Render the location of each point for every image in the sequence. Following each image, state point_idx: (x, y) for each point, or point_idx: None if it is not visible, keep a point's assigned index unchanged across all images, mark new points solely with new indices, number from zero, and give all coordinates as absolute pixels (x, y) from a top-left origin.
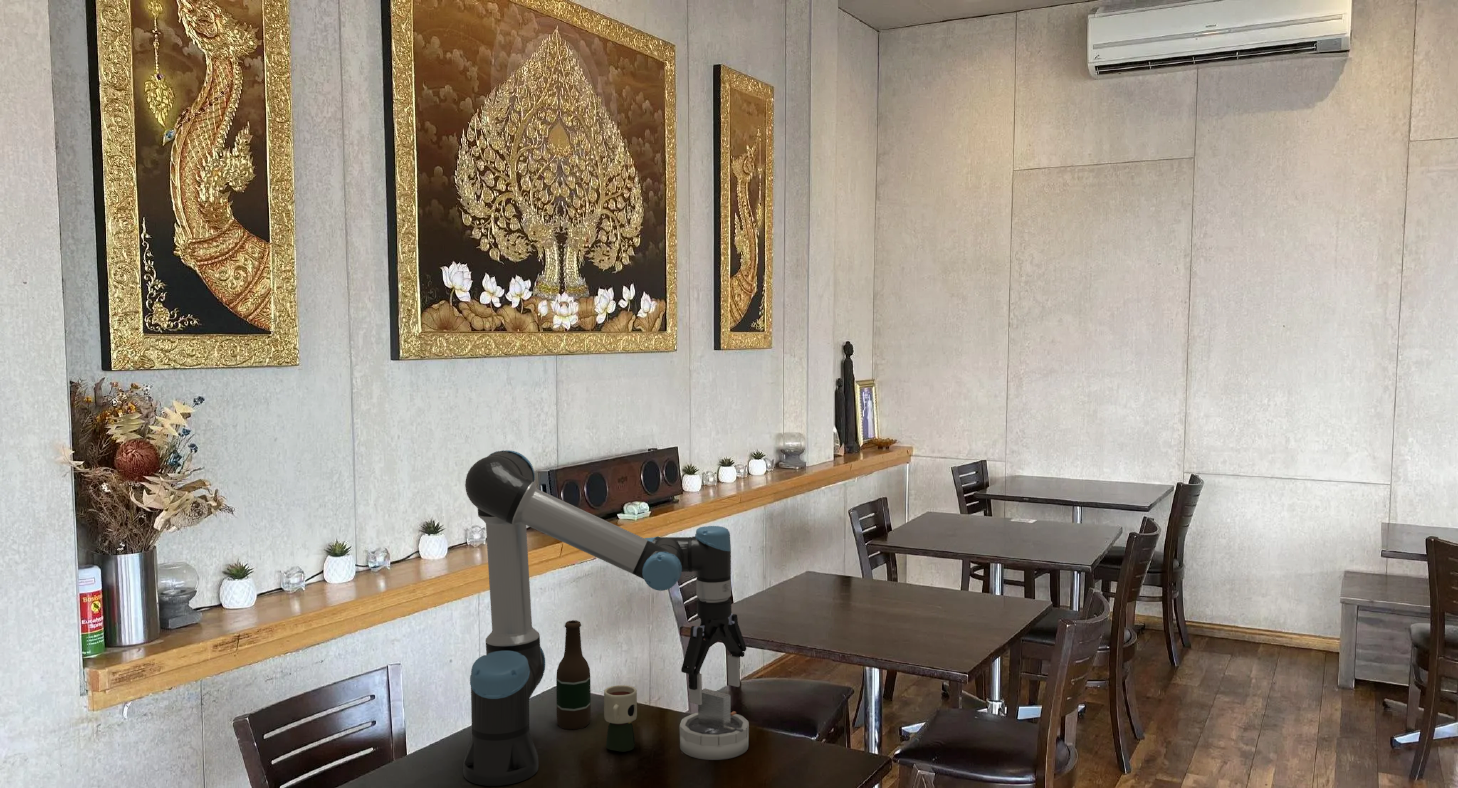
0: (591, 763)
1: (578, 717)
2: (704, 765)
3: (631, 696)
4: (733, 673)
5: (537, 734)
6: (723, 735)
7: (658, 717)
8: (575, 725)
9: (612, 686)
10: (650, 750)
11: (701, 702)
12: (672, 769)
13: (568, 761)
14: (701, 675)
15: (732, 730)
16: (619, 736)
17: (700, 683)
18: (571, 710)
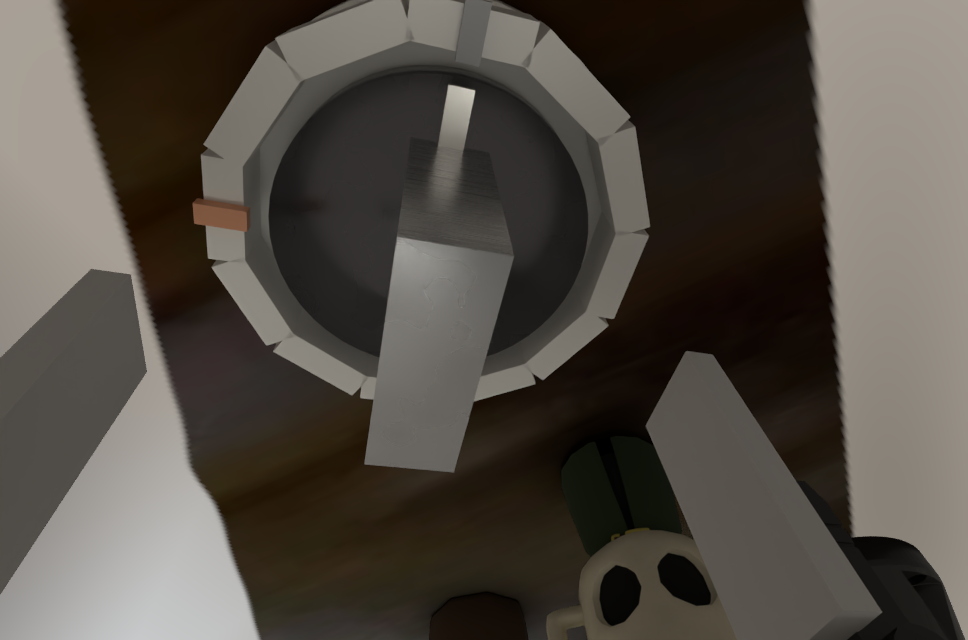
0: None
1: (512, 633)
2: (680, 127)
3: None
4: (67, 409)
5: (582, 633)
6: (601, 102)
7: (287, 495)
8: (517, 611)
9: None
10: (588, 389)
11: (698, 360)
12: (752, 239)
13: None
14: (830, 589)
15: (473, 90)
16: (673, 502)
17: (796, 505)
18: None
